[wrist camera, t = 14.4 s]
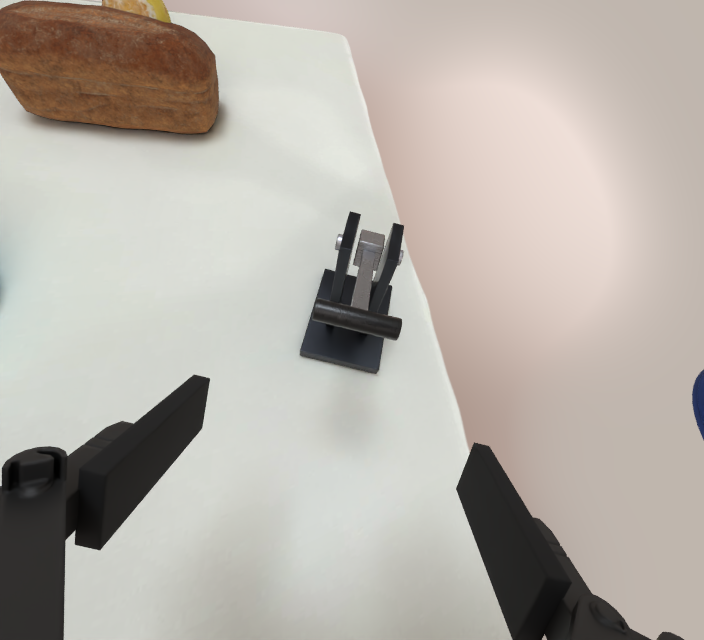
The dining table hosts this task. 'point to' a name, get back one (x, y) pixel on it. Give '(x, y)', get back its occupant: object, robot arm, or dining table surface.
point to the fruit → (141, 8)
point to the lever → (361, 296)
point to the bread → (107, 67)
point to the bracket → (339, 288)
